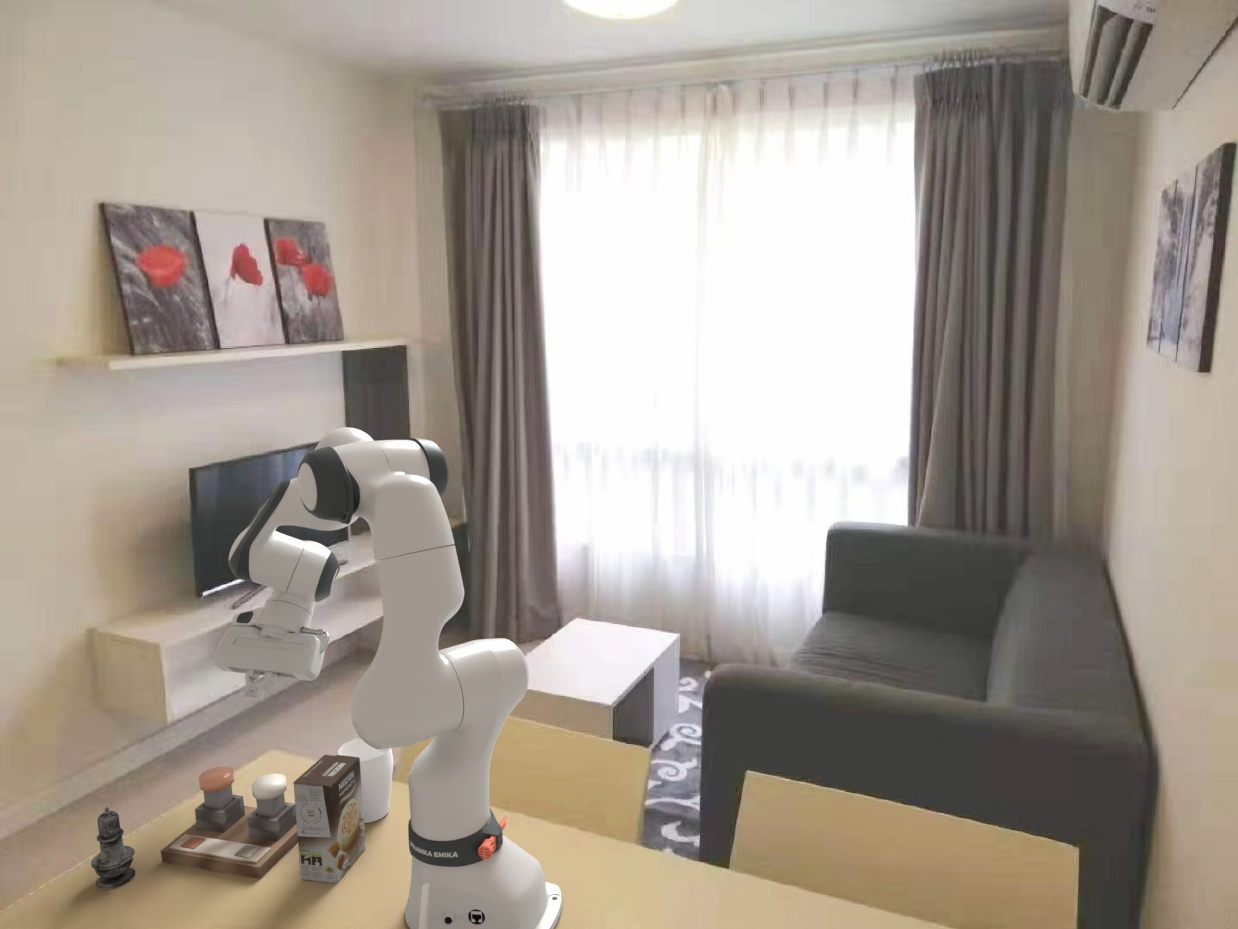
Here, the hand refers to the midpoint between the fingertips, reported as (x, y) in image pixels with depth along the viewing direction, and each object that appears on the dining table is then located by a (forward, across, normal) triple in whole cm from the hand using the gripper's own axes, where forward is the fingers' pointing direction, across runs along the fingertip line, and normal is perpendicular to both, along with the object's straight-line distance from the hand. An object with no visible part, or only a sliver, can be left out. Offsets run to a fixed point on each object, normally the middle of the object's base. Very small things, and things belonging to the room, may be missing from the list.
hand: (252, 698), depth 153 cm
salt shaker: (+31, +7, +4) cm, 32 cm away
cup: (+13, -22, -14) cm, 29 cm away
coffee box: (+23, -24, -4) cm, 33 cm away
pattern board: (+22, -6, -4) cm, 23 cm away
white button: (+17, -11, -2) cm, 20 cm away
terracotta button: (+17, -1, -2) cm, 17 cm away
